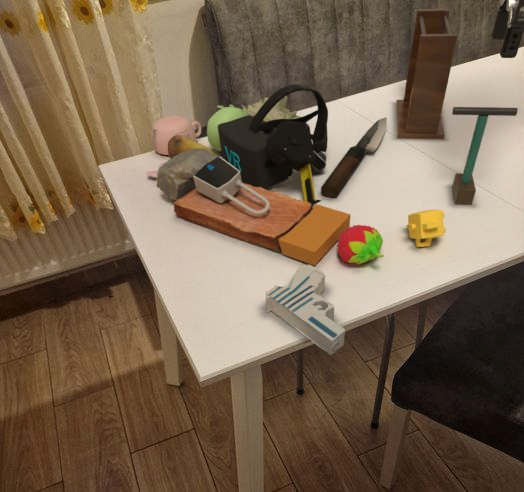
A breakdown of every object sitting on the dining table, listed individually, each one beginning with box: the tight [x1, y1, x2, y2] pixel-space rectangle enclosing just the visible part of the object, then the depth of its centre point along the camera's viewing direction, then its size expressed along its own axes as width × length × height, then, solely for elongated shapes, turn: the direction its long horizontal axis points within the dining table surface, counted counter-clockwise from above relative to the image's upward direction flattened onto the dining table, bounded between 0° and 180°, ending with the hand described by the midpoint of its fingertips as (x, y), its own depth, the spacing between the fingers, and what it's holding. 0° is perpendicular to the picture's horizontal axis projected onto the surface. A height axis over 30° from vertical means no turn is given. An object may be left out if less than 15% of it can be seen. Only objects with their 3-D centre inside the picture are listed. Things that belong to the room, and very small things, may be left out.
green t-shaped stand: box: [451, 106, 519, 206], centre depth 88 cm, size 6×10×16 cm, turn 81°
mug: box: [150, 115, 202, 156], centre depth 112 cm, size 12×10×6 cm
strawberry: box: [336, 224, 384, 266], centre depth 81 cm, size 6×7×10 cm
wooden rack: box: [395, 8, 458, 140], centre depth 110 cm, size 19×10×20 cm, turn 171°
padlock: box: [193, 155, 270, 215], centre depth 89 cm, size 7×4×15 cm
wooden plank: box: [173, 183, 351, 266], centre depth 90 cm, size 13×30×3 cm, turn 56°
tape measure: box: [266, 121, 322, 207], centre depth 91 cm, size 15×4×8 cm
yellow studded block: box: [406, 209, 446, 248], centre depth 83 cm, size 8×6×5 cm
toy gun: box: [265, 264, 346, 356], centre depth 73 cm, size 3×14×10 cm
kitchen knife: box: [320, 117, 388, 198], centre depth 106 cm, size 36×2×5 cm
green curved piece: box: [206, 104, 249, 152], centre depth 109 cm, size 12×11×11 cm
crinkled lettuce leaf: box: [241, 95, 302, 122], centre depth 116 cm, size 16×8×15 cm
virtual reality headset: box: [218, 83, 329, 190], centre depth 100 cm, size 19×22×15 cm
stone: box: [156, 149, 218, 201], centre depth 97 cm, size 12×8×8 cm
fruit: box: [168, 135, 222, 159], centre depth 107 cm, size 6×6×12 cm
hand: (502, 47), depth 76 cm, fingers open, 8 cm apart
